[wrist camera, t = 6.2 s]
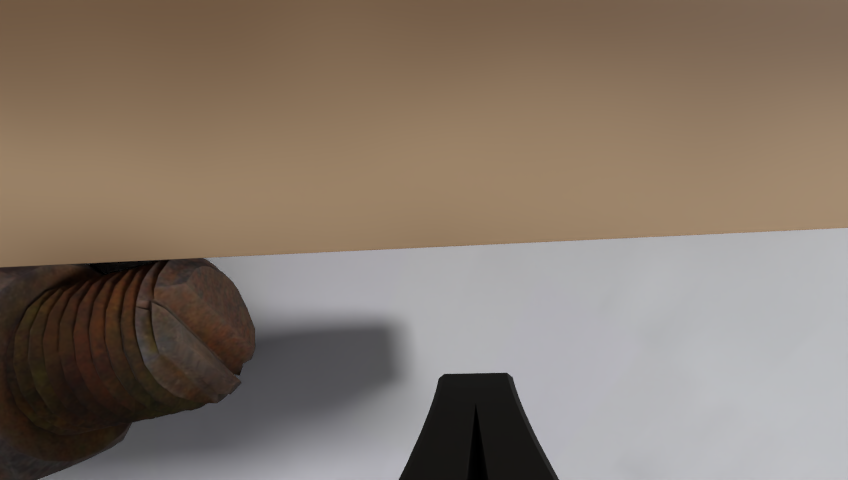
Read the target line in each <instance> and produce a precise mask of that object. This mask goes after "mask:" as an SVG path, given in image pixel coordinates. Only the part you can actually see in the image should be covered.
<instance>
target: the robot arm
mask: <svg viewBox="0 0 848 480" xmlns="http://www.w3.org/2000/svg"><path fill="white" fill-rule="evenodd" d="M399 480H559V479H558V477H557V475H556V474H555V472H554V470H553V468H552V466H551V464H550V462H549V460H548V459H547V457H546V455H545V453H544V451H543V449H542V447H541V445H540V444H539V442H538V440H537V437H536V435H535V433H534V431H533V429H532V427H531V425H530V423H529V420H528V418H527V416H526V414H525V412H524V409H523V407H522V404H521V402H520V399H519V397H518V394H517V391H516V388H515V385H514V381H513V377H511V376H510V375H509V374H508V373H475V374H444V375H443V376H441V377H440V378H439V380H438V384H437V389H436V392H435V395H434V399H433V402H432V405H431V407H430V410H429V413H428V416H427V418H426V421H425V423H424V426H423V428H422V431H421V433H420V435H419V437H418V440H417V442H416V444H415V446H414V449H413V451H412V453H411V455H410V458H409V460H408V462H407V464H406V466H405V468H404V470H403V472H402V474H401V476H400V478H399Z"/></svg>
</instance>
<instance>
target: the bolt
mask: <svg viewBox="0 0 848 480" xmlns="http://www.w3.org/2000/svg"><path fill="white" fill-rule="evenodd" d="M254 350H255V328H254V325H253V323H252V320H251V317H250V315H249V312H248V309H247V307H246V305H245V303H244V301H243V299H242V297H241V295H240V293H239V291H238V289H237V288H236V286H235V285H234V283H233V282H232V281H231V280H230V279H229V278H228V277H227V276H226V275H225V274H224V273H223V272H221V271H219V270H218V269H217V267H216V266H215V265H213V264H212V263H210V262H209V261H207V260H206V259H203V258H188V259H167V260H160V261H153V262H151V263H147V264H144V265H141V266H139V267H136V268H129V269H124V270H122V271H121V272H112V273H109V274H105V275H103V274H101V273H100V272H98V271H97V270H95V269H93V268H92V267H90V266H89V265H85V264H59V265H38V266H17V267H0V480H37V479H40V478H42V477H45V476H48V475H50V474H53V473H56V472H58V471H61V470H63V469H66V468H68V467H70V466H73V465H75V464H77V463H80V462H82V461H84V460H87V459H89V458H91V457H93V456H95V455H97V454H99V453H101V452H103V451H105V450H107V449H109V448H111V447H113V446H114V445H116V444H117V443H119V442H121V441H122V440H123V439H124V437H125V435H126V433H127V432H128V430H129V428H130V426H131V424H132V422H136V421H140V420H144V419H153V418H155V417H160V416H164V415H168V414H174V413H178V412H181V411H184V410H194V409H197V408H200V407H202V406H204V405H205V404H207V403H218V402H220V401H221V400H222V399H223V398H224V397H226V396H227V395H228V394H231V393H232V392H233V391H234V390H235V389H236V388H237V387H238V386H239V385H240V384H241V381H240V380H239V379H238V378H237V377H236V376H235V375H234V374H236V375H240V372H241V369H242V366H243V363H245V362H247V361H249V360H250V359H251V358H252V356H253V353H254Z"/></svg>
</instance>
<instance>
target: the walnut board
mask: <svg viewBox="0 0 848 480" xmlns="http://www.w3.org/2000/svg"><path fill="white" fill-rule="evenodd" d="M830 228H848V0H0V267H17V266H38V265H59V264H81V263H102V262H124V261H145V260H167V259H188V258H209V257H231V256H252V255H274V254H295V253H316V252H338V251H359V250H381V249H402V248H423V247H445V246H466V245H488V244H509V243H531V242H552V241H573V240H595V239H616V238H638V237H659V236H680V235H702V234H723V233H745V232H766V231H787V230H809V229H830Z"/></svg>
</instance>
